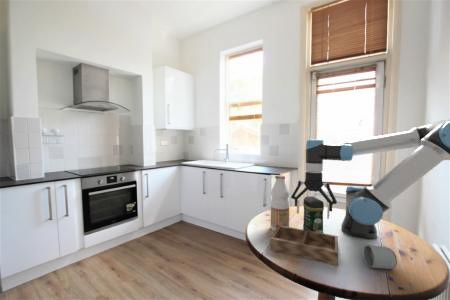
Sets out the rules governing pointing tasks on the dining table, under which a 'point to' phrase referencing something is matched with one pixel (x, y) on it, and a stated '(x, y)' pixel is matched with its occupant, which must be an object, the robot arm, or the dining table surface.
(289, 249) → the wooden divided tray
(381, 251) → the ceramic mug
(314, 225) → the coffee jar
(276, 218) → the fruit juice
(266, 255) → the dining table surface
